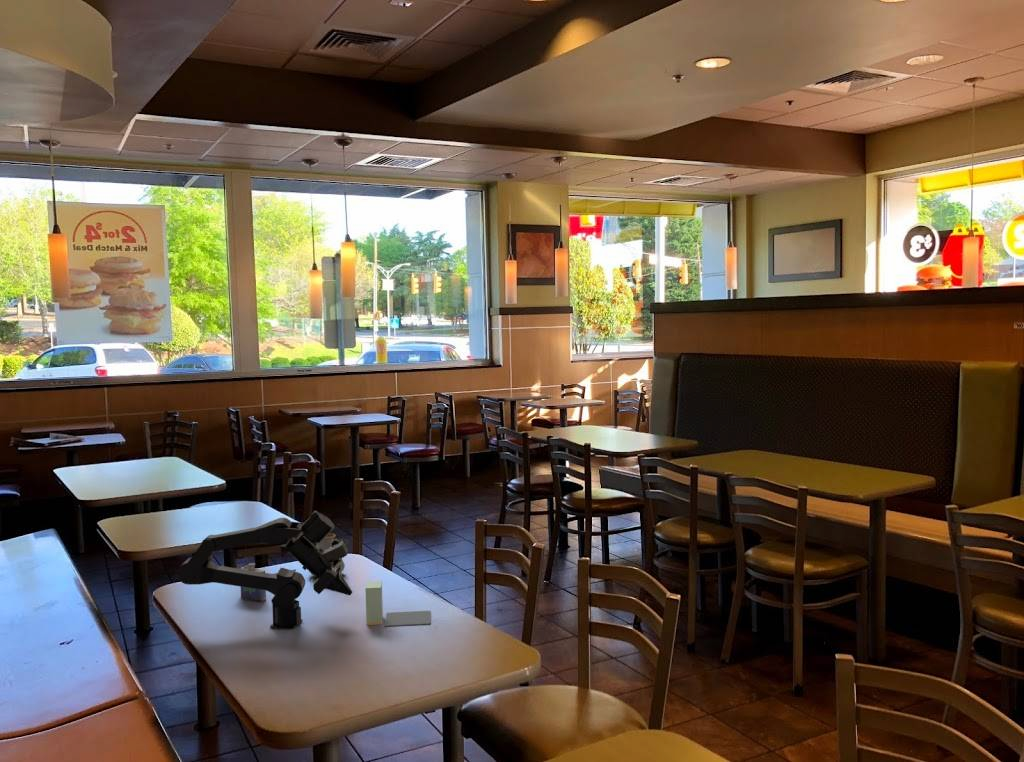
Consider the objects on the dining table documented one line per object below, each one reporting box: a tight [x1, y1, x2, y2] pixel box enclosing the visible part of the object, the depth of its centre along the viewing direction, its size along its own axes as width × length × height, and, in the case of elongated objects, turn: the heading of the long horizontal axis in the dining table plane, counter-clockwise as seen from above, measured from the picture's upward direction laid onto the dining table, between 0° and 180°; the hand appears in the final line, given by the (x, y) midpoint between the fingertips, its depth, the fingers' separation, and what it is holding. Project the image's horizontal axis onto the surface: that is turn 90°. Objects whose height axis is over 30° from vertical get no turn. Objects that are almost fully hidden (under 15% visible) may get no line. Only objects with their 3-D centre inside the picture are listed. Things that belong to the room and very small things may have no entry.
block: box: [364, 580, 384, 626], centre depth 231 cm, size 4×6×10 cm, turn 6°
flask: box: [239, 562, 267, 603], centre depth 250 cm, size 9×3×11 cm, turn 61°
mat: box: [384, 610, 431, 627], centre depth 232 cm, size 12×10×1 cm
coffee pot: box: [308, 532, 348, 576], centre depth 268 cm, size 21×12×15 cm, turn 34°
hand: (351, 593), depth 230 cm, fingers closed
